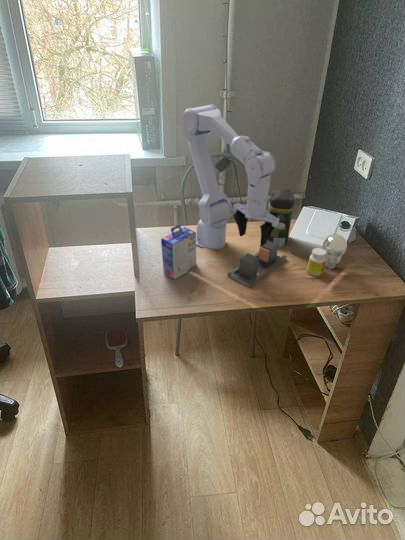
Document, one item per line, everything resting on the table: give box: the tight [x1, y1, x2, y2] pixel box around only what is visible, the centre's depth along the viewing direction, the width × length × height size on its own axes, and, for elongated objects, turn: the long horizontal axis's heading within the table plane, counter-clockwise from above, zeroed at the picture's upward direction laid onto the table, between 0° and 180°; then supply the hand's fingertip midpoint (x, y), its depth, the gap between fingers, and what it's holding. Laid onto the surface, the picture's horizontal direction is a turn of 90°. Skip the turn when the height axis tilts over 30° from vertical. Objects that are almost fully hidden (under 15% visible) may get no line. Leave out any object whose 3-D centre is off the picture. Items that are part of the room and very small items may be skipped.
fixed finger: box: [258, 240, 279, 266], centre depth 122 cm, size 4×5×6 cm
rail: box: [227, 251, 287, 289], centre depth 120 cm, size 8×20×2 cm, turn 139°
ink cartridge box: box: [160, 224, 197, 280], centre depth 116 cm, size 10×6×14 cm, turn 137°
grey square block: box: [238, 252, 259, 281], centre depth 115 cm, size 4×5×6 cm
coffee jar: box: [267, 187, 295, 248], centre depth 130 cm, size 10×8×19 cm
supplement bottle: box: [306, 247, 326, 277], centre depth 118 cm, size 5×5×8 cm
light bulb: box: [322, 233, 348, 270], centre depth 119 cm, size 7×7×12 cm
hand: (252, 239), depth 117 cm, fingers open, 7 cm apart
